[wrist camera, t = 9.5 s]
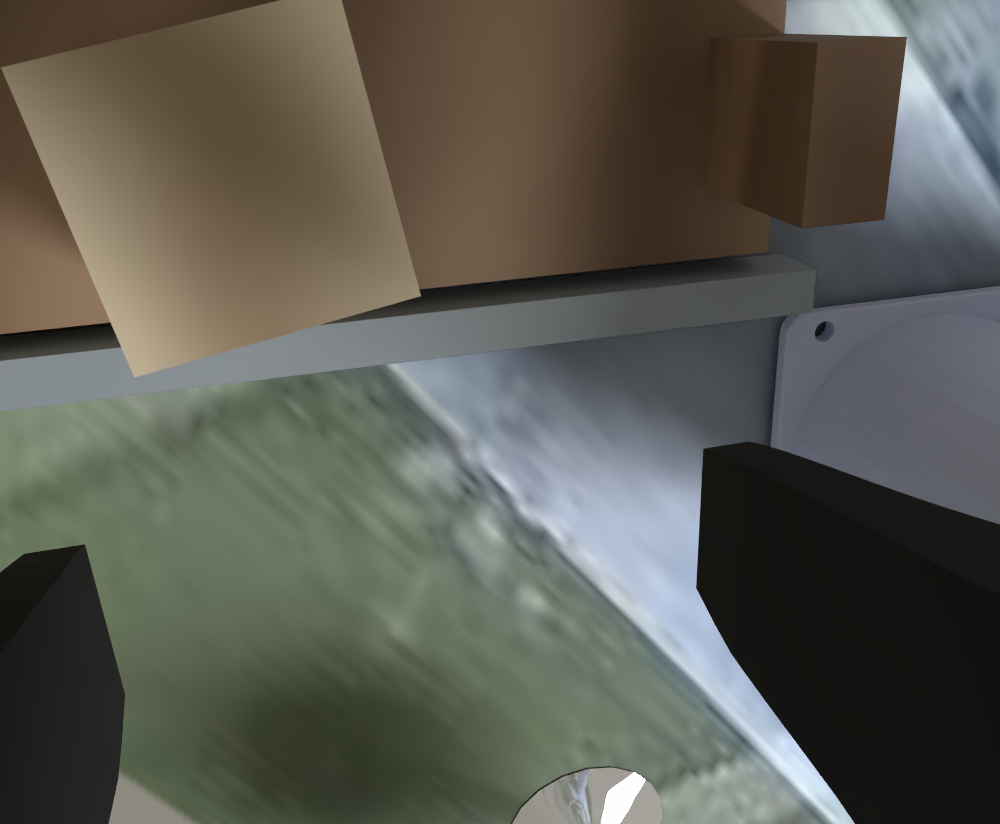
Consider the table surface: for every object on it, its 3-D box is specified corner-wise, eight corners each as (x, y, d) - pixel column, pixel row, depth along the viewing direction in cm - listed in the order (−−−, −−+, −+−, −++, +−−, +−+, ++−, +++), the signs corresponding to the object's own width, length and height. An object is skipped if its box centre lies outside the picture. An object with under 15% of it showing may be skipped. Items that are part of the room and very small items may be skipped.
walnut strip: (760, -45, 19) (919, -66, 14) (743, 240, 22) (873, 301, 17) (-142, -9, 16) (-313, -21, 11) (-44, 322, 18) (-151, 426, 14)
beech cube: (321, -6, 16) (338, -14, 12) (387, 235, 18) (421, 295, 14) (68, 55, 16) (0, 67, 12) (164, 296, 18) (134, 378, 14)
